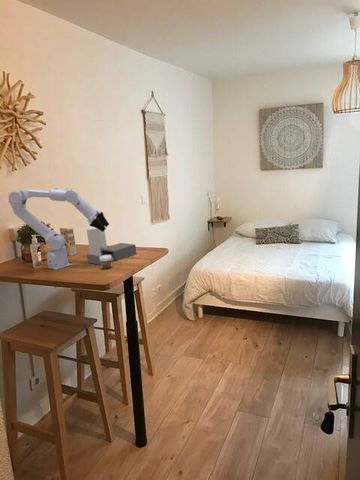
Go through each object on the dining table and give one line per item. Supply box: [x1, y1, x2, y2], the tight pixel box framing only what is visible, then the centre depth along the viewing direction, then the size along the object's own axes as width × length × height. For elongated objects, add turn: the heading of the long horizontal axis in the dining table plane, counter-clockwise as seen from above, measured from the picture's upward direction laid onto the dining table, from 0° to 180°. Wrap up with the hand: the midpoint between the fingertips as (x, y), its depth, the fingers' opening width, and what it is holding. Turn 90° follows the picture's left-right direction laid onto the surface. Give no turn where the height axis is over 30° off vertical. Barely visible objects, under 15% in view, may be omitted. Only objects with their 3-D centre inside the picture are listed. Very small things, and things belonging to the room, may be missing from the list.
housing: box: [100, 242, 137, 262], centre depth 202 cm, size 14×12×6 cm
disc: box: [99, 255, 112, 261], centre depth 182 cm, size 6×6×2 cm
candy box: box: [59, 226, 78, 256], centre depth 217 cm, size 9×4×15 cm, turn 44°
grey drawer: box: [86, 253, 114, 266], centre depth 196 cm, size 14×12×4 cm
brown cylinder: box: [101, 260, 112, 270], centre depth 182 cm, size 4×4×4 cm
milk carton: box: [86, 221, 108, 256], centre depth 210 cm, size 7×7×19 cm
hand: (106, 227), depth 192 cm, fingers open, 7 cm apart
